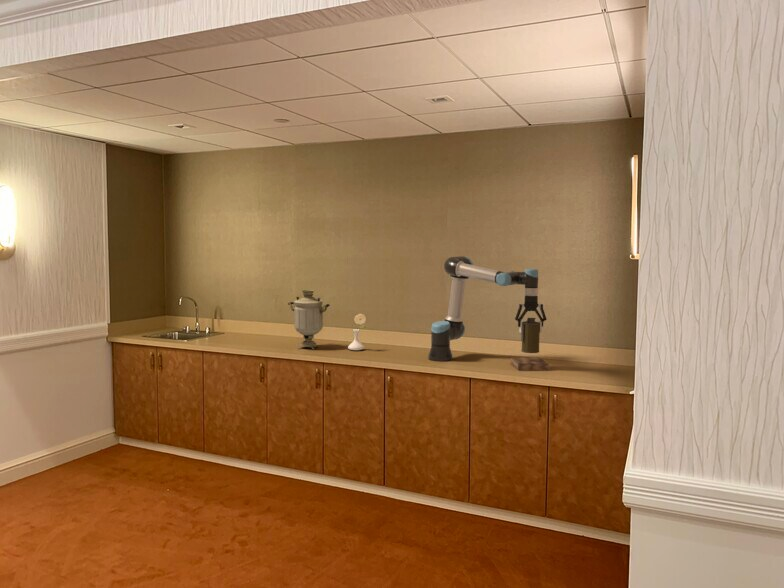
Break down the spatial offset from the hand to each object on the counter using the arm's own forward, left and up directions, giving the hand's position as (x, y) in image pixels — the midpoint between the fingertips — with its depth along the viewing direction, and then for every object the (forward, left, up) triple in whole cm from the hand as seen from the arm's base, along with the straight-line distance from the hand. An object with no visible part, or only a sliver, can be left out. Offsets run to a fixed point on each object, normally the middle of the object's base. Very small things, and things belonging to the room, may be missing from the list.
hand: (530, 332), depth 354 cm
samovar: (-135, +68, -21) cm, 153 cm away
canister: (0, 0, -12) cm, 12 cm away
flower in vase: (-103, +57, -21) cm, 120 cm away
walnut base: (0, 0, -21) cm, 21 cm away
